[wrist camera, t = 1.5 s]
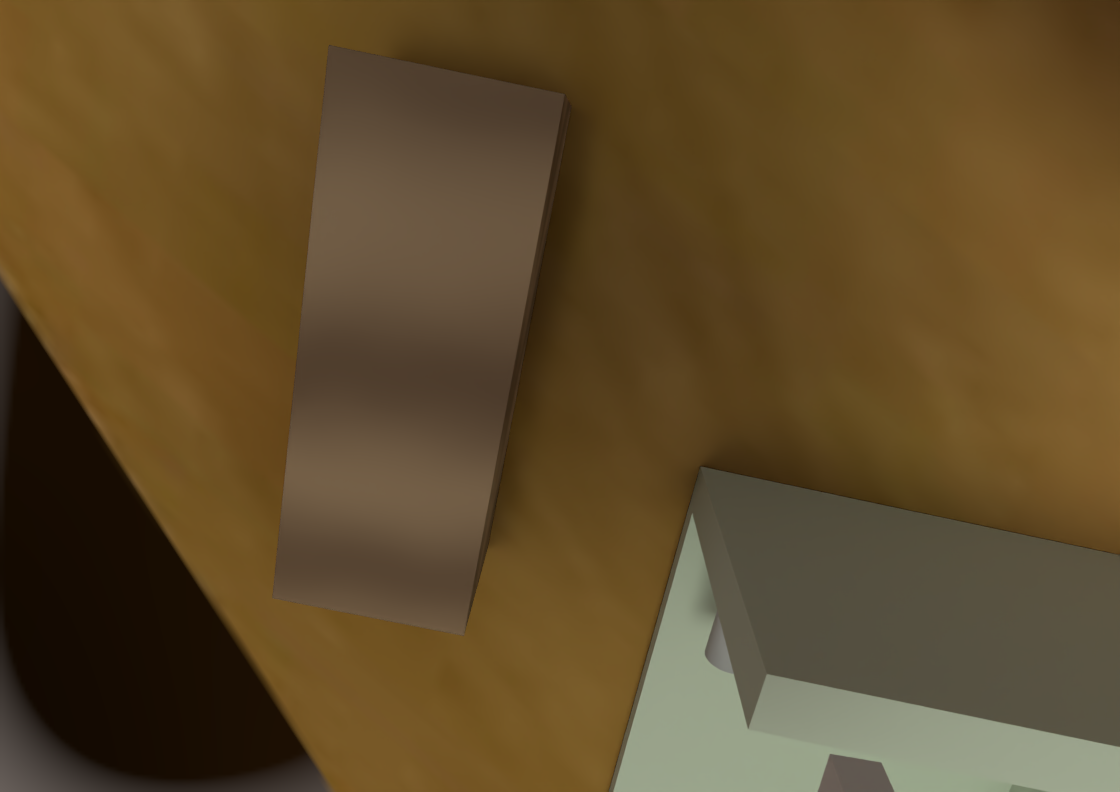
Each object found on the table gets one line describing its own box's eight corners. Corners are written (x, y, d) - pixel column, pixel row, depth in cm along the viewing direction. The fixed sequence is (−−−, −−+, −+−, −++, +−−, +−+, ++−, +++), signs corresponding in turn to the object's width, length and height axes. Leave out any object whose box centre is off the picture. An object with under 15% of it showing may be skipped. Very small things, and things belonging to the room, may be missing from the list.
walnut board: (388, 68, 26) (328, 44, 20) (572, 106, 26) (564, 94, 20) (333, 513, 30) (272, 597, 25) (488, 544, 31) (463, 635, 25)
